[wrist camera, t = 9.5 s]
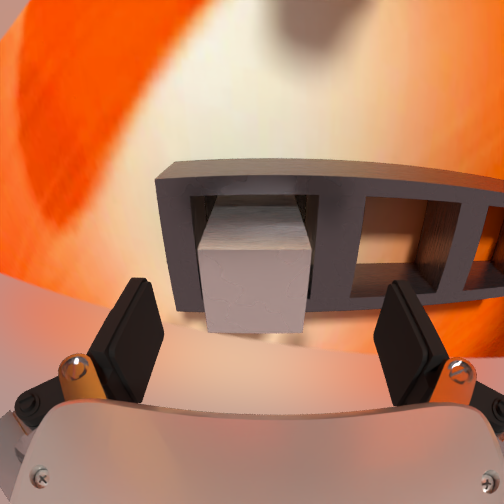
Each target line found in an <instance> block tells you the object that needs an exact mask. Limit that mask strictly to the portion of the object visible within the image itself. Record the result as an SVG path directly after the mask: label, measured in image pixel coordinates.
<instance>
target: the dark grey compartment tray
mask: <svg viewBox="0 0 504 504" xmlns="http://www.w3.org/2000/svg"><path fill="white" fill-rule="evenodd" d="M155 185H156V193H157V201H158V208H159V215H160V222H161V228H162V234H163V241H164V247H165V252H166V258H167V264H168V269H169V275H170V280H171V285H172V290H173V295H174V300H175V305H176V310H177V311H182V312H205V307H204V300H203V292H202V285H201V276H200V268H199V260H198V251H197V249H198V247H199V244H200V241H201V239H202V236H203V233H204V230H205V228H206V225H207V220H206V208H205V196H207V195H260V194H291V195H307V201H306V219H305V230H306V233H307V236H308V239H309V242H310V246H311V249H312V252H311V263H310V273H309V282H308V291H307V300H306V309H305V312H322V311H347V310H367V309H381V308H382V305H383V302H384V298H385V295H386V291H387V288H388V285H389V284H392V282H393V281H394V280H408V282H409V283H410V285H411V287H412V288H413V290H414V292H415V294H416V295H417V297H418V299H419V301H420V302H421V304H422V306H423V305H434V304H444V303H454V302H463V301H471V300H480V299H488V298H495V297H503V296H504V220H503V224H502V227H501V231H500V234H499V238H498V241H497V244H496V247H495V250H494V253H493V256H492V259H491V261H473V260H474V257H475V254H476V251H477V247H478V244H479V241H480V237H481V234H482V230H483V226H484V223H485V219H486V215H487V211H488V207H489V206H496V207H504V180H500V179H495V178H490V177H484V176H479V175H473V174H467V173H461V172H454V171H447V170H440V169H432V168H424V167H416V166H407V165H397V164H386V163H374V162H360V161H344V160H323V159H278V158H263V159H218V160H196V161H180V162H174V163H173V164H172V165H170V166H169V167H168V168H167V169H166V170H165V171H163V172H162V173H161V174H160V175H159V176H158V177H157V178H156V179H155ZM366 196H369V197H390V198H407V199H421V200H428V204H427V209H426V214H425V219H424V224H423V228H422V233H421V237H420V241H419V246H418V250H417V254H416V258H415V261H414V263H376V264H356V262H357V256H358V250H359V244H360V237H361V230H362V223H363V216H364V208H365V200H366Z"/></svg>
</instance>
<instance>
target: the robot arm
mask: <svg viewBox="0 0 504 504" xmlns="http://www.w3.org/2000/svg"><path fill="white" fill-rule="evenodd" d="M163 338H164V330H163V326H162V322H161V319H160V315H159V311H158V308H157V304H156V300H155V296H154V292H153V288H152V284H151V282H148V281H147V279H146V278H131V279H130V281H129V282H128V284H127V286H126V287H125V289H124V291H123V292H122V294H121V296H120V297H119V299H118V301H117V303H116V304H115V306H114V308H113V309H112V310H111V311H110V313H109V315H108V316H107V318H106V320H105V321H104V324H103V325H102V327H101V329H100V330H99V332H98V334H97V336H96V338H95V340H94V341H93V343H92V345H91V347H90V349H89V351H88V352H87V354H86V355H85V354H82V353H77V354H73V355H70V356H68V357H66V358H65V359H64V360H63V361H62V362H61V364H60V365H59V369H58V376H57V377H55V378H53V379H51V380H48V381H46V382H44V383H42V384H40V385H38V386H36V387H34V388H31V389H29V390H28V391H25V392H24V393H22V394H21V395H20V396H19V397H18V399H17V400H16V402H15V411H13V412H11V411H10V410H9V412H7V413H6V414H5V415H4V416H2V418H0V487H1V489H2V491H3V492H4V494H5V495H6V497H7V499H8V500H9V502H10V504H504V395H502V394H500V393H498V392H496V391H495V390H493V389H491V388H489V387H487V386H485V385H484V384H482V383H480V382H478V381H476V378H477V374H476V370H475V368H474V367H473V365H472V364H471V363H470V362H469V361H467V360H466V359H463V358H460V357H454V358H449V356H448V354H447V352H446V350H445V348H444V346H443V344H442V341H441V339H440V338H439V336H438V334H437V332H436V330H435V328H434V326H433V324H432V322H431V320H430V318H429V316H428V315H427V313H426V312H425V310H424V308H423V306H422V304H421V302H420V301H419V299H418V297H417V295H416V294H415V292H414V290H413V288H412V287H411V285H410V283H409V282H408V280H394V281H393V282H392V284H389V285H388V288H387V291H386V295H385V298H384V302H383V305H382V308H381V312H380V315H379V318H378V321H377V325H376V328H375V331H374V343H375V346H376V349H377V352H378V355H379V358H380V362H381V365H382V368H383V372H384V375H385V378H386V382H387V386H388V389H389V393H390V397H391V400H392V403H393V406H397V407H389V408H381V409H372V410H362V411H352V412H340V413H325V414H300V415H255V414H254V415H253V414H231V413H214V412H203V411H191V410H182V409H174V408H166V407H159V406H151V405H144V404H138V403H141V402H142V400H143V397H144V394H145V391H146V388H147V385H148V382H149V379H150V376H151V373H152V370H153V367H154V364H155V361H156V358H157V356H158V352H159V350H160V347H161V344H162V341H163Z"/></svg>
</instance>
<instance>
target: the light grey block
mask: <svg viewBox="0 0 504 504" xmlns="http://www.w3.org/2000/svg"><path fill="white" fill-rule="evenodd" d="M197 251H198V260H199V268H200V276H201V285H202V292H203V300H204V307H205V315H206V322H207V329H208V332H210V333H303V325H304V317H305V309H306V300H307V291H308V282H309V273H310V263H311V252H312V249H311V246H310V242H309V239H308V236H307V233H306V230H305V226H304V223H303V220H302V217H301V214H300V211H299V208H298V205H297V202H296V199H295V196H294V195H291V194H260V195H218V197H217V199H216V202H215V204H214V207H213V209H212V212H211V215H210V217H209V220H208V223H207V225H206V228H205V230H204V233H203V236H202V239H201V241H200V244H199V247H198V249H197Z"/></svg>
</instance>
